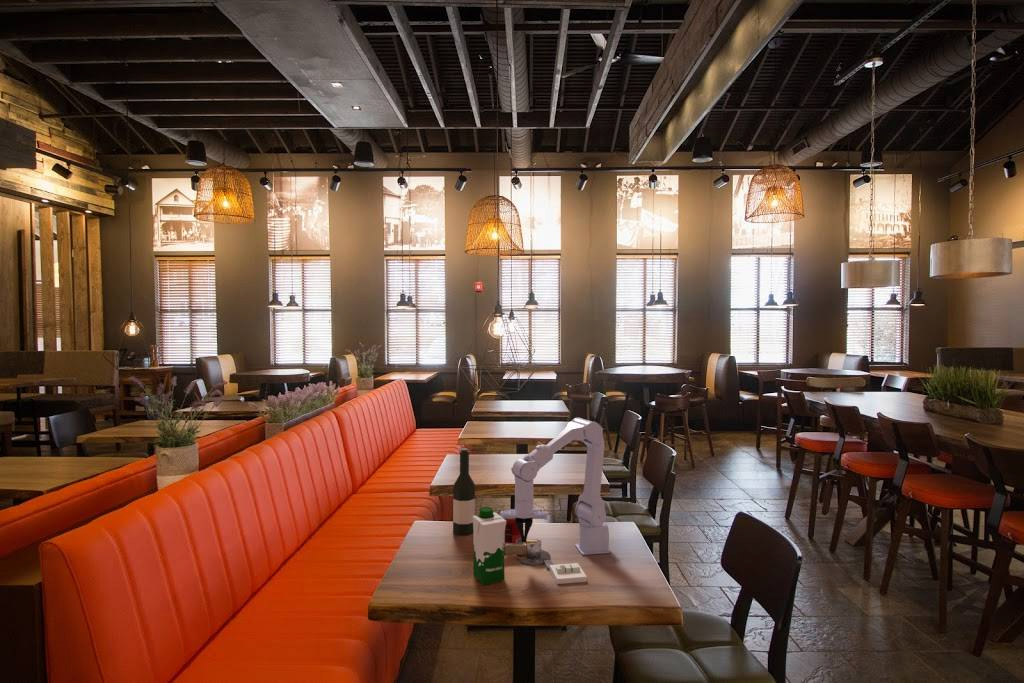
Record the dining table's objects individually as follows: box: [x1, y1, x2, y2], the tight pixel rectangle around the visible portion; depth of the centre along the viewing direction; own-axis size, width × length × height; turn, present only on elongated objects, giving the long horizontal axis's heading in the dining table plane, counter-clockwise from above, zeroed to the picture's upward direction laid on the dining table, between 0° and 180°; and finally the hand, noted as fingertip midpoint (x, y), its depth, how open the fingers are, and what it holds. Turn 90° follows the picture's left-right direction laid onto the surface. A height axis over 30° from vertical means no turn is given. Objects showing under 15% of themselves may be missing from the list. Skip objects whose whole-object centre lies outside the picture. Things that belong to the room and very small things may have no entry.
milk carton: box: [472, 506, 506, 586], centre depth 162 cm, size 9×9×20 cm
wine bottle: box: [452, 447, 476, 537], centre depth 197 cm, size 8×8×30 cm
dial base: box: [515, 549, 554, 571], centre depth 175 cm, size 11×14×1 cm
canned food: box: [503, 508, 525, 543], centre depth 186 cm, size 8×8×11 cm
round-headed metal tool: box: [504, 538, 542, 559], centre depth 176 cm, size 14×5×5 cm, turn 94°
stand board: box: [548, 562, 588, 585], centre depth 164 cm, size 9×9×4 cm
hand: (523, 541), depth 170 cm, fingers closed
